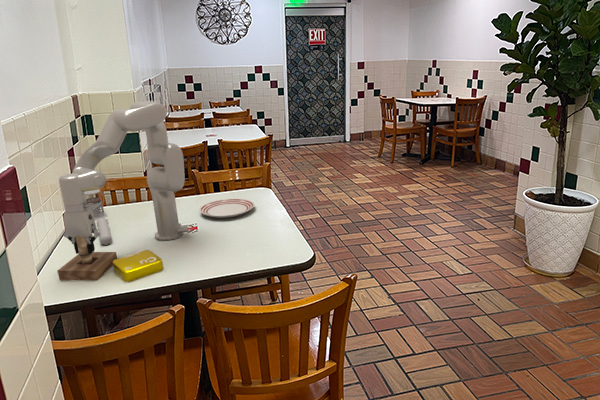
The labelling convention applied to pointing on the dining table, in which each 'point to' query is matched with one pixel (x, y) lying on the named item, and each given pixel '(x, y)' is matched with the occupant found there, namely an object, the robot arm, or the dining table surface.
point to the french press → (95, 204)
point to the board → (87, 267)
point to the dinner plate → (226, 208)
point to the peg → (83, 250)
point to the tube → (104, 231)
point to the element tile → (137, 265)
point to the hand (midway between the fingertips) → (85, 251)
